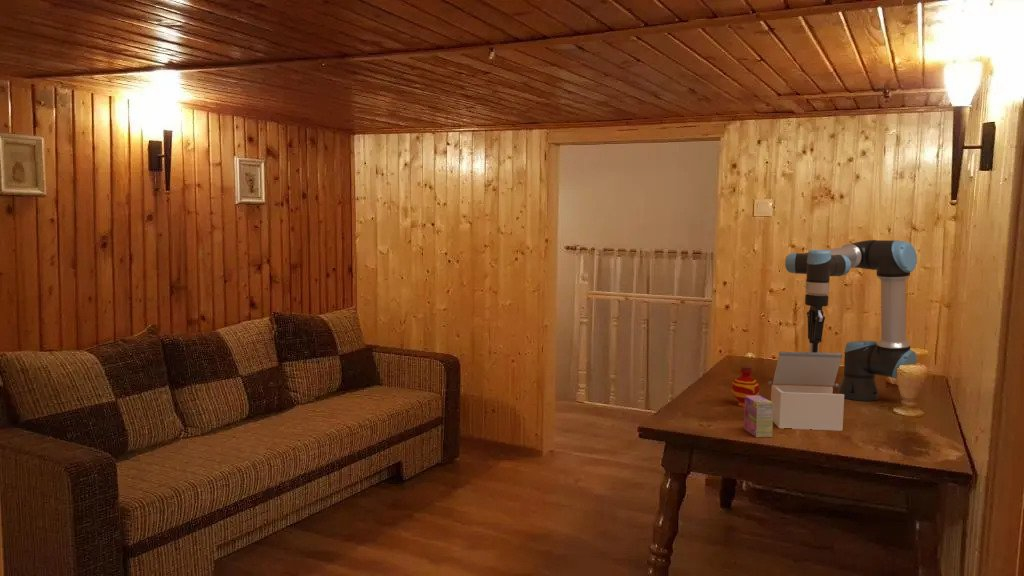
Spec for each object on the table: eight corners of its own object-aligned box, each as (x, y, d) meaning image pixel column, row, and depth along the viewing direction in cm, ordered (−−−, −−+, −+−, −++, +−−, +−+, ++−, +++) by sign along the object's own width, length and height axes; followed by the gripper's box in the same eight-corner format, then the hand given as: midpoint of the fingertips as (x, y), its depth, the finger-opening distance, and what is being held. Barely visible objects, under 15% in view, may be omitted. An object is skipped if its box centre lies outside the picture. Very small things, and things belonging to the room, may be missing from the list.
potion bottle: (759, 403, 299) (760, 365, 297) (758, 409, 289) (760, 370, 287) (731, 401, 302) (732, 363, 301) (729, 406, 292) (731, 368, 291)
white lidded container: (835, 420, 274) (837, 383, 273) (848, 431, 261) (850, 391, 259) (766, 417, 276) (768, 380, 275) (776, 428, 263) (777, 389, 262)
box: (743, 429, 261) (744, 395, 260) (759, 429, 261) (761, 395, 260) (755, 437, 251) (757, 402, 250) (772, 437, 251) (773, 402, 250)
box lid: (833, 385, 272) (833, 384, 273) (842, 355, 264) (841, 353, 265) (773, 383, 274) (772, 382, 275) (780, 353, 266) (779, 351, 267)
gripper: (800, 292, 273) (797, 357, 275) (811, 296, 260) (807, 364, 262) (822, 292, 272) (818, 357, 275) (834, 296, 259) (830, 364, 262)
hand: (813, 360), depth 269 cm, fingers closed
